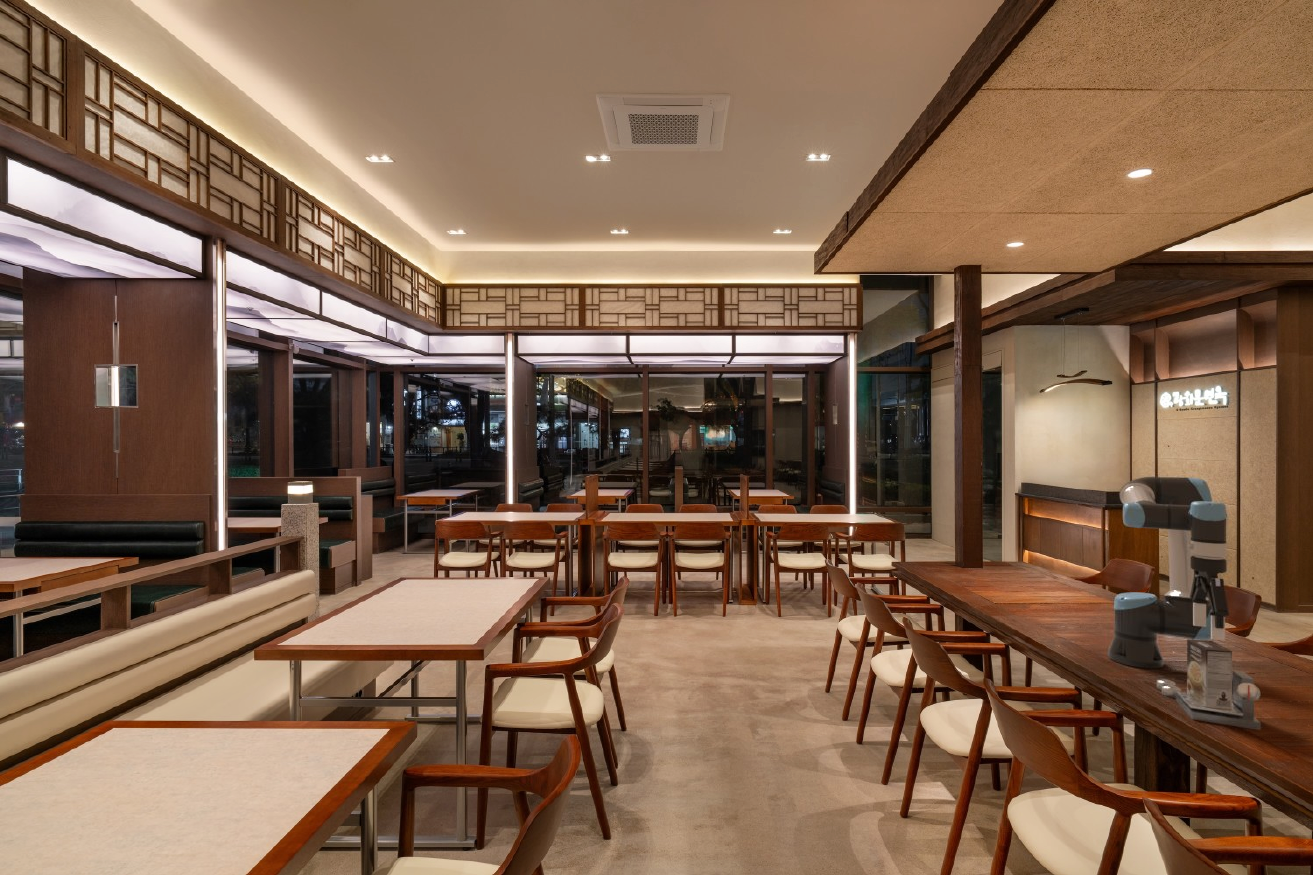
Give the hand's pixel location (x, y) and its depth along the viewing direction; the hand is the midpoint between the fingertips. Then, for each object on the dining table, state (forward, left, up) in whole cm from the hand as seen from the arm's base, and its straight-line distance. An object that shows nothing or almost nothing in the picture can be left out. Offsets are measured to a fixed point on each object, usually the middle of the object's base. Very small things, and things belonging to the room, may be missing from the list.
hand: (1208, 632), depth 170 cm
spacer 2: (-11, -6, -23) cm, 26 cm away
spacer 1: (-16, -6, -23) cm, 28 cm away
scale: (0, +1, -23) cm, 23 cm away
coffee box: (0, 0, -20) cm, 20 cm away
